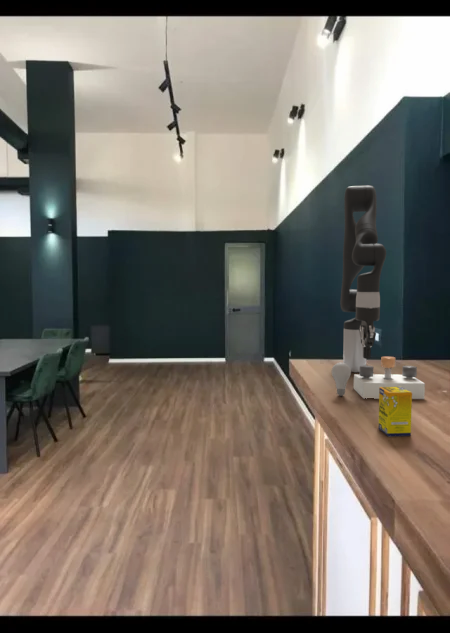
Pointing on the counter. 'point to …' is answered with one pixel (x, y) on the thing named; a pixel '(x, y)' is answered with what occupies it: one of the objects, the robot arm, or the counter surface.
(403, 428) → the supplement box
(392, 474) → the counter surface
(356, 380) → the mounting board
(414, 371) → the charcoal knob
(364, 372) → the charcoal knob
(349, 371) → the lightbulb
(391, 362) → the middle terracotta knob
